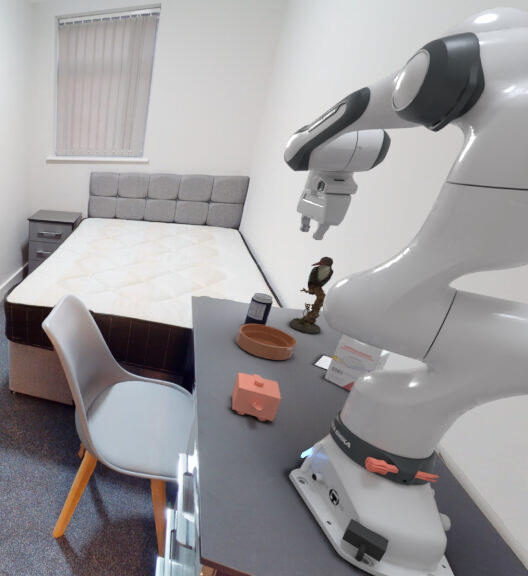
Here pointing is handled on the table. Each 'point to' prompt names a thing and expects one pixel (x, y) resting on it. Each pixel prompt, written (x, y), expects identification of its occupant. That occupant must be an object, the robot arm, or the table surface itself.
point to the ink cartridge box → (354, 361)
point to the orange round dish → (266, 341)
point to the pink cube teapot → (256, 396)
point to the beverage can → (259, 309)
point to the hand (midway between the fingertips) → (310, 235)
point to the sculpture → (315, 284)
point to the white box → (324, 362)
